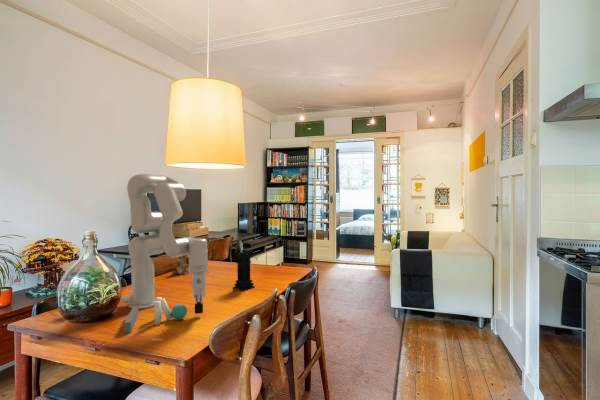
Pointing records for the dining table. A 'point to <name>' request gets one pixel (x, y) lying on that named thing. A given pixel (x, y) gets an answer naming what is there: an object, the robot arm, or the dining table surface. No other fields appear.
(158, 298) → the back pin left
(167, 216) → the robot arm
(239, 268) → the chess piece
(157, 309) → the back pin right
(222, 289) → the dining table surface
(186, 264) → the stuffed squirrel
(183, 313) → the ball
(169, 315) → the front pin
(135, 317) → the wall
